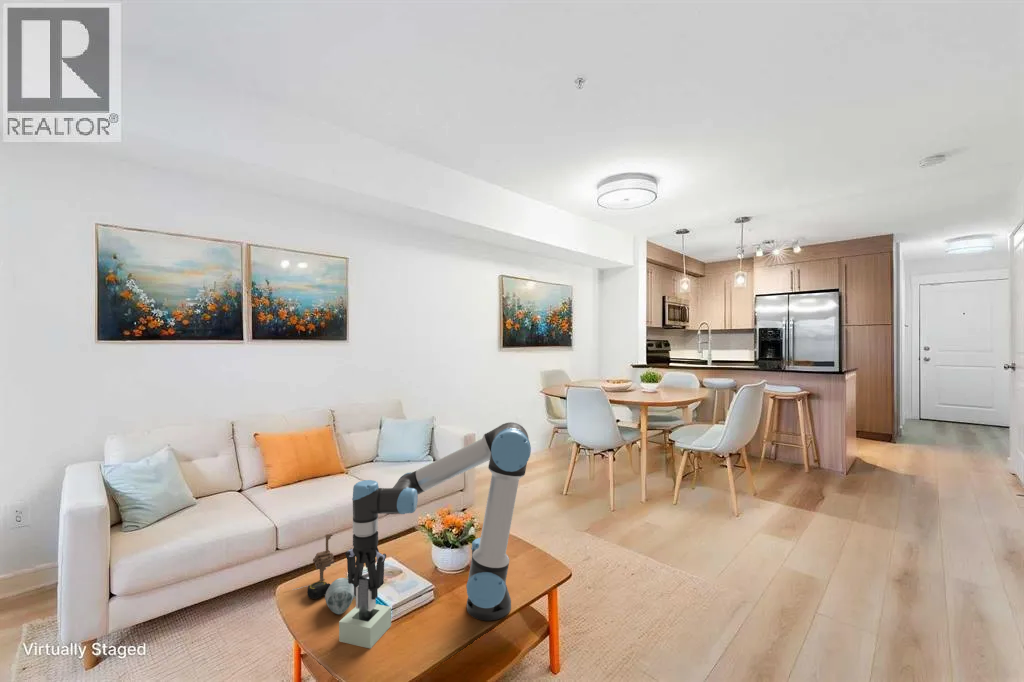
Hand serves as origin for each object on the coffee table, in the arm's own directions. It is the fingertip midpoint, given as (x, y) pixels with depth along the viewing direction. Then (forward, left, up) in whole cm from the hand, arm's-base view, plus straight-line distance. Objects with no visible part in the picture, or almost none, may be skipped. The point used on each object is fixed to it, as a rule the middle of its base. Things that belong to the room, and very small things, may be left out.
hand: (365, 607), depth 137 cm
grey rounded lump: (+15, -7, -8) cm, 19 cm away
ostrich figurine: (+36, -16, -8) cm, 40 cm away
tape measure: (+26, -10, -8) cm, 29 cm away
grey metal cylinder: (0, 0, -6) cm, 6 cm away
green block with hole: (0, 0, -8) cm, 8 cm away
